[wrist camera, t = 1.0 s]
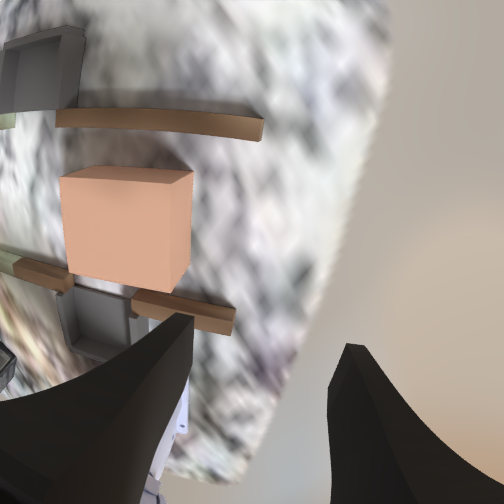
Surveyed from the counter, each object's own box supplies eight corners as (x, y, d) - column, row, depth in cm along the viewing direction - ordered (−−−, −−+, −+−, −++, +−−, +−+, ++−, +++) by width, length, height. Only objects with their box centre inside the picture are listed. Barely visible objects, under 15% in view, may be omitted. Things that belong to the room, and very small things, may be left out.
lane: (234, 323, 22) (227, 345, 20) (-45, 244, 24) (-60, 253, 22) (264, 119, 17) (259, 119, 14) (-55, 123, 18) (-73, 127, 16)
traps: (150, 359, 25) (141, 375, 23) (32, 318, 25) (20, 329, 24) (169, 21, 15) (156, 12, 13) (19, 45, 15) (1, 43, 14)
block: (191, 262, 21) (170, 293, 17) (100, 248, 21) (69, 272, 18) (194, 170, 18) (171, 184, 15) (96, 164, 19) (59, 177, 15)
